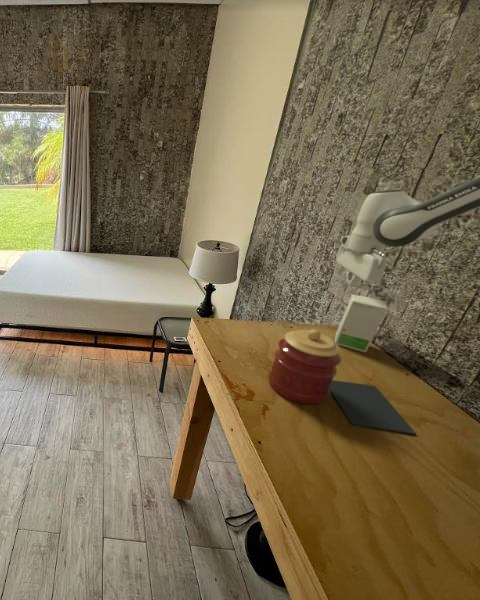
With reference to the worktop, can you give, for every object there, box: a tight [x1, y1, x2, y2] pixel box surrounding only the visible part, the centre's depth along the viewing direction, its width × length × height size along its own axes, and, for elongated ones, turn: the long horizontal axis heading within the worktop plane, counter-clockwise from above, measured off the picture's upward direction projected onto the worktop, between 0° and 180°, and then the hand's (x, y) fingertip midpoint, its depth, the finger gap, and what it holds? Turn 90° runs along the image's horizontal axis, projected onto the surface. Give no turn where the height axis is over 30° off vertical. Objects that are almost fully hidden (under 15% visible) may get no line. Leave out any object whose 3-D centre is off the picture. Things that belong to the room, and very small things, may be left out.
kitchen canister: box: [268, 328, 342, 405], centre depth 80 cm, size 13×13×18 cm
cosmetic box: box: [334, 294, 388, 353], centre depth 98 cm, size 8×7×16 cm
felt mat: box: [328, 379, 417, 436], centre depth 77 cm, size 12×16×1 cm
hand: (350, 285), depth 104 cm, fingers closed
